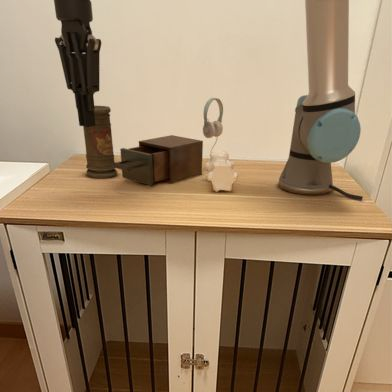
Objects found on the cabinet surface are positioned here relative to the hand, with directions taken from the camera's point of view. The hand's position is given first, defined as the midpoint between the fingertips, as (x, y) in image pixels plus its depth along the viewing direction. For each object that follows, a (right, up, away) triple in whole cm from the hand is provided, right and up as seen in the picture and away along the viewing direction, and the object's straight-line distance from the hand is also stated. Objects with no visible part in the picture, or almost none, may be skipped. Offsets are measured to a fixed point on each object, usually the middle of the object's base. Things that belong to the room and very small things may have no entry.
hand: (87, 125), depth 98 cm
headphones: (+31, +5, +36) cm, 48 cm away
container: (-3, -1, +27) cm, 27 cm away
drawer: (+11, -4, +21) cm, 24 cm away
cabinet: (+18, 0, +29) cm, 34 cm away
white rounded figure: (+33, -6, +21) cm, 40 cm away
